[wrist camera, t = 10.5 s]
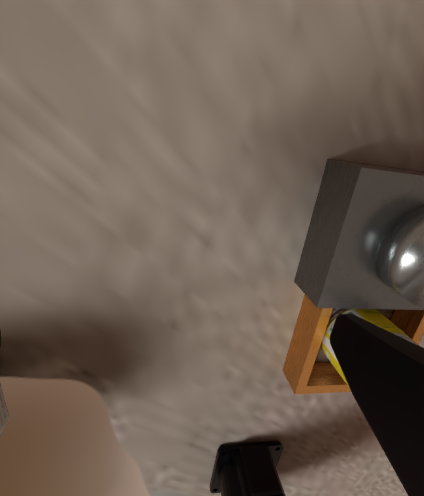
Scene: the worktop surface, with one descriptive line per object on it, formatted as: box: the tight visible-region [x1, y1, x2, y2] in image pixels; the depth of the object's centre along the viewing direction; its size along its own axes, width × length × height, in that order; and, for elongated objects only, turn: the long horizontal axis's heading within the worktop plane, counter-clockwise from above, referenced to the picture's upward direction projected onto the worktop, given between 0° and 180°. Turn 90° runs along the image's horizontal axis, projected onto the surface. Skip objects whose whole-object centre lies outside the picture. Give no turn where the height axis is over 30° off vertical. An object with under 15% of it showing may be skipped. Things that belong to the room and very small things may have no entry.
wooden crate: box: [283, 159, 424, 394], centre depth 22 cm, size 18×12×6 cm
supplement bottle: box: [320, 308, 419, 385], centre depth 21 cm, size 6×6×10 cm
